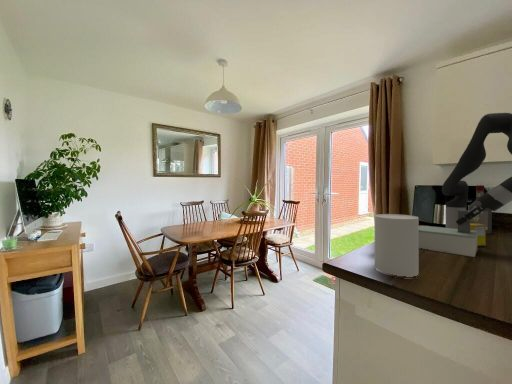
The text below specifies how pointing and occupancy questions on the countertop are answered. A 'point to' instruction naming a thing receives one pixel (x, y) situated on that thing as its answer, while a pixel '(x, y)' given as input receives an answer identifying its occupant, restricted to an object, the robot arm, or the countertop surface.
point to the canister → (397, 244)
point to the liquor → (486, 216)
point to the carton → (448, 243)
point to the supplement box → (479, 233)
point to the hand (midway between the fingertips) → (458, 222)
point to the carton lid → (461, 231)
